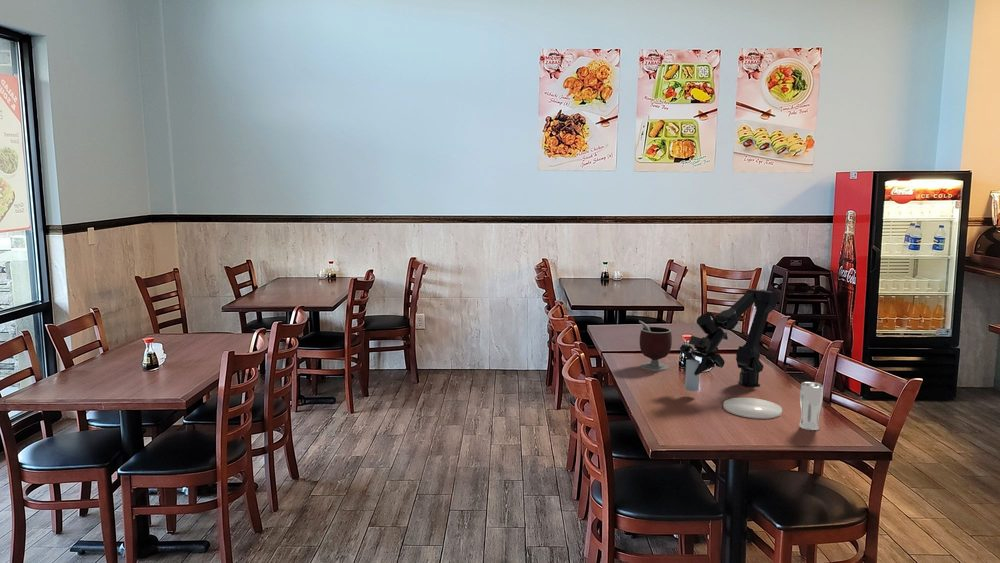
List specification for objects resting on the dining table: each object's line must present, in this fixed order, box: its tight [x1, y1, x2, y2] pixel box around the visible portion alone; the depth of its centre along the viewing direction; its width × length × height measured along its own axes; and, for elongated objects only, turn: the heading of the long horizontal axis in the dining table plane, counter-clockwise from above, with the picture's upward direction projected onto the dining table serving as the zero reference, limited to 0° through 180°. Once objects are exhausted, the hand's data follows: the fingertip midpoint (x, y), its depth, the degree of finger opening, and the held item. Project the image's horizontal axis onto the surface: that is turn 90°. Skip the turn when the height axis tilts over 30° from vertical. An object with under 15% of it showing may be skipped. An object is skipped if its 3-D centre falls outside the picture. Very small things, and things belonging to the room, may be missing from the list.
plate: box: [722, 397, 783, 420], centre depth 253 cm, size 20×20×1 cm
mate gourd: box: [638, 320, 673, 372], centre depth 309 cm, size 16×14×20 cm
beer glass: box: [798, 381, 824, 431], centre depth 234 cm, size 7×7×15 cm
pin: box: [684, 359, 701, 392], centre depth 267 cm, size 5×5×11 cm
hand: (689, 372), depth 266 cm, fingers closed on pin, 5 cm apart
